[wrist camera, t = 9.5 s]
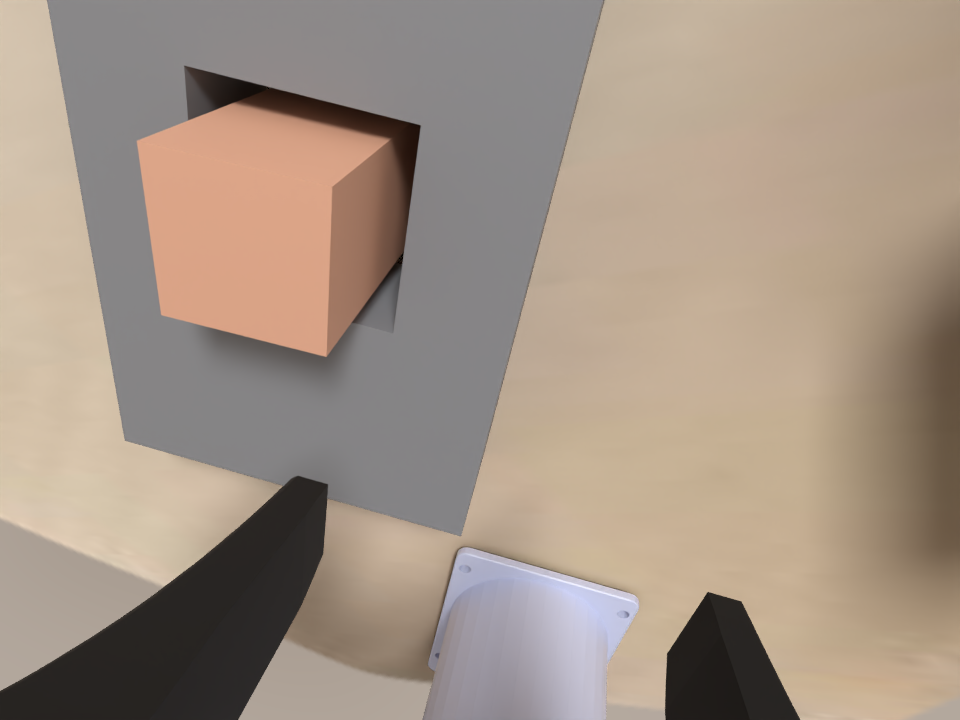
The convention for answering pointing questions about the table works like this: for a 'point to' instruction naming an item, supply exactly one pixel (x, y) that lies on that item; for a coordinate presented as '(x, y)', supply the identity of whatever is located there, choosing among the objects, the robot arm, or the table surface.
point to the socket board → (408, 286)
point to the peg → (277, 215)
